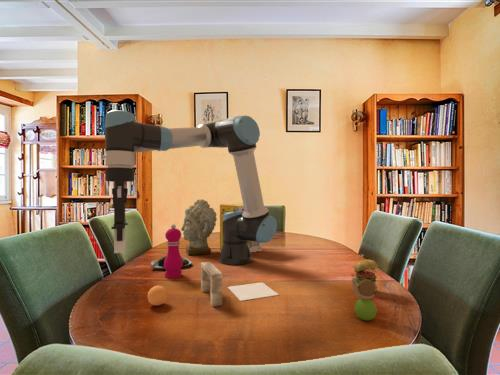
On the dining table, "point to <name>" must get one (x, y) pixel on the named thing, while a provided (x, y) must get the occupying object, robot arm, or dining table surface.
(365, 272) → the hamburger
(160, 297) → the ball
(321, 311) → the dining table surface
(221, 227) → the packaging box
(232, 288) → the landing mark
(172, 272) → the pepper mill
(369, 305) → the snail figurine
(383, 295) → the dining table surface
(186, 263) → the salad plate
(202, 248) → the buddha head
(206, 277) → the bridge
